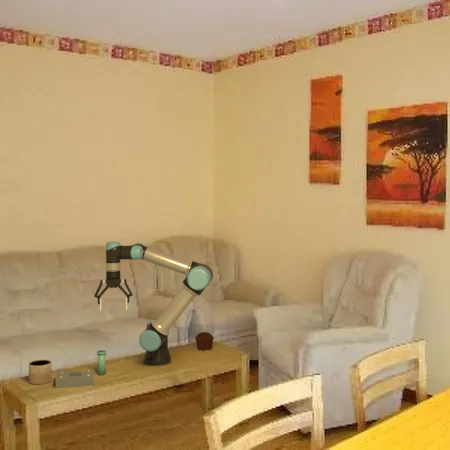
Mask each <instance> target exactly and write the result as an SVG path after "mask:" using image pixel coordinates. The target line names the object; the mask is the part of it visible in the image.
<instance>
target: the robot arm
mask: <svg viewBox="0 0 450 450" xmlns="http://www.w3.org/2000/svg"><path fill="white" fill-rule="evenodd" d="M121 260H134V261H138V260H144V261H146V262H149V263H152V264H154V265H157V266H160V267H162V268H164V269H165V268H166V269H168V270H171V271H174V272H176V273H179V274H183V275H185V278H184V279H183V280H182V286H181V287H180V289H179V290H178V292H177V293H176V294H175V296H174V297H173V298H171V300H170V302H169V303H168V305H166V307H165V308H164V310H163V311H162V312H161V314H160V315H159V316H158V317H157V318H156V320H148V321H147V322H146V324H145V325H146V328H145V330H143V331H142V332H141V334H139V338H138V340H139V341H138V342H139V345H140V347H141V348H142V349H143V350H144V351H145V352H144V357H143V363H144V365H145V364H146V365H147V366H148V365H149V366H163V365H168V364H170V363H171V362H172V356H171V354H170V351H169V341H168V339H169V338H168V337H169V335H170V332H169V331H170V329H171V328H172V327H173V326H174V324H175V323H176V322H177V320H178V319H179V318H180V316H181V315H182V314H183V313H184V311H185V310H186V309H187V308H188V306H189V305H190V304H191V302H192V301H193V300H194V299H195V297H198V296H200V295H201V294H203V292H204V291H205V289H206V288H207V287H208V286H209V285H210V283H211V282H212V280H213V277H214V273H213V270H212V268H211V267H210V266H209V265H208V264H207V265H206V264H204V263H201V262H196V261H194V260H191V261H188V260H185V259H184V258H180V257H177V256H175V255H172V254H169V253H165V252H162V251H160V250H158V249H154V248H152V247H148V246H146V245H144V244H143V243H140V242H138V243H134V244H131V245H121V242H120V241H107V242H106V243H105V270H106V271H105V279H100V281H99V285H98V287H97V289H96V291H95V293H94V296H93V297H94V298H96V299H97V305H99V311H100V312H101V311H102V308H103V307H102V298H101V297H102V296H103V295H104V293H106V291H107V290H108V289H109V288H110V289H114V288H115V289H116V288H118V289H120V290H121V292H122V293H123V294H124V295H125V310H128V304H129V303H130V297H133V291H132V290H131V289H130V287H129V285H128V283H127V282H128V281H127V279H126V278H123V279H121ZM121 283H123V284H124V285H125V286H124V287H126V290H127V291H128V292H127V291H126V290H125V289H124V288H123V287H122V285H121ZM104 284H106V286H105V287H104V288H103V289H102V290H101V288H102V287H103V285H104ZM100 291H101V292H100ZM99 292H100V293H99Z"/></svg>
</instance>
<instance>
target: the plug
mask: <svg viewBox="0 0 450 450" xmlns="http://www.w3.org/2000/svg"><path fill="white" fill-rule="evenodd" d="M96 355H97V376H105V375H106V373H107V371H106V370H107V368H106V361H107V360H106V359H107V358H106V355H107V350H104V349H103V350H102V349H100V350H97V351H96Z"/></svg>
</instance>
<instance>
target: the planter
mask: <svg viewBox="0 0 450 450" xmlns="http://www.w3.org/2000/svg"><path fill="white" fill-rule="evenodd" d="M52 373H53V372H52V360H50V359H49V360H48V359H37V360H32V361H30V362H29V363H28V382H29V383H30V384H31V385H46V384H48V383H50V382H51V381H52V380H53V379H52V378H53V377H52V376H53V375H52Z"/></svg>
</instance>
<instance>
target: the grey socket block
mask: <svg viewBox="0 0 450 450" xmlns="http://www.w3.org/2000/svg"><path fill="white" fill-rule="evenodd" d="M94 372H95V371H94V369H89V370H88V369H87V370H86V369H85V370H74V371H61V372H60V371H59V372H56V376H55V388H56V389H57V388H58V389H60V388H71V387H72V388H73V387H85V386H94V385H95V382H94V381H95V378H94V375H95V373H94Z"/></svg>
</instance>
